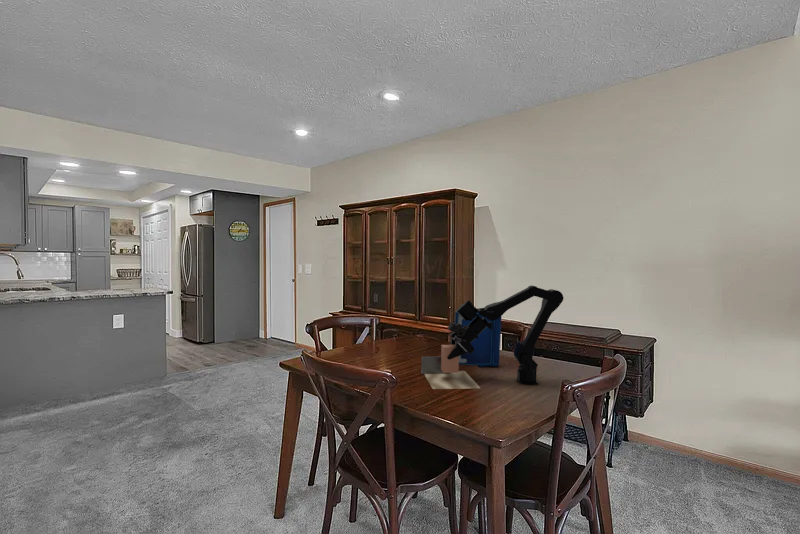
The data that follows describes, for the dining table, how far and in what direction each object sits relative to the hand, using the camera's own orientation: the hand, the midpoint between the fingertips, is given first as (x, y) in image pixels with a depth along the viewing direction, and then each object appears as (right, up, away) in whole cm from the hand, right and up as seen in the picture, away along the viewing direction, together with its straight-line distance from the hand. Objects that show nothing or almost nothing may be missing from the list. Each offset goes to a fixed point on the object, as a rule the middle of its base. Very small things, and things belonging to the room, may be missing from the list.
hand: (446, 357), depth 169 cm
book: (+17, -9, +26) cm, 32 cm away
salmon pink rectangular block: (+1, -6, 0) cm, 6 cm away
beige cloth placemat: (+1, -10, -1) cm, 10 cm away
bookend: (-4, -8, +7) cm, 12 cm away
